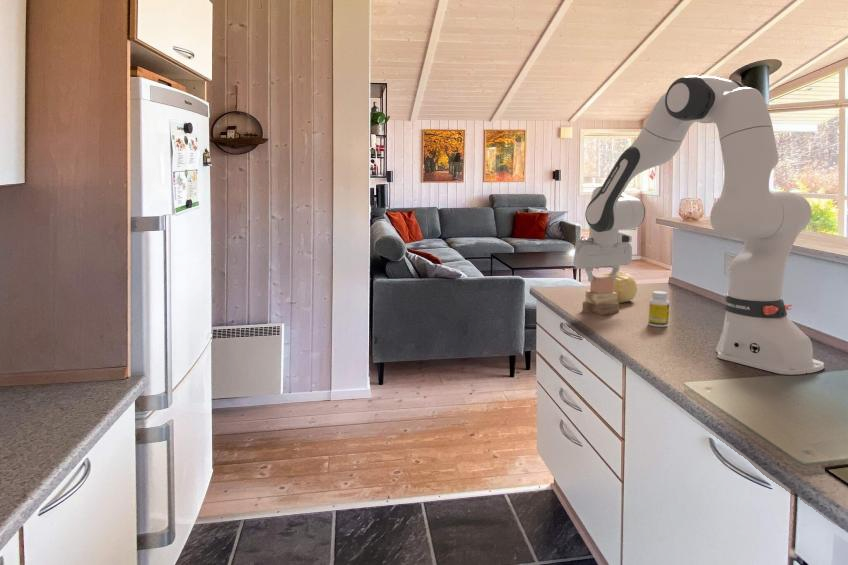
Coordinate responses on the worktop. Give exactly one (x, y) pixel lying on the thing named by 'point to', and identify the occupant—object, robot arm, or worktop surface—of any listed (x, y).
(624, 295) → the pale yellow rounded lump
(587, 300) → the top block
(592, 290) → the cube
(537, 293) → the worktop surface
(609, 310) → the bottom block
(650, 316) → the supplement bottle
